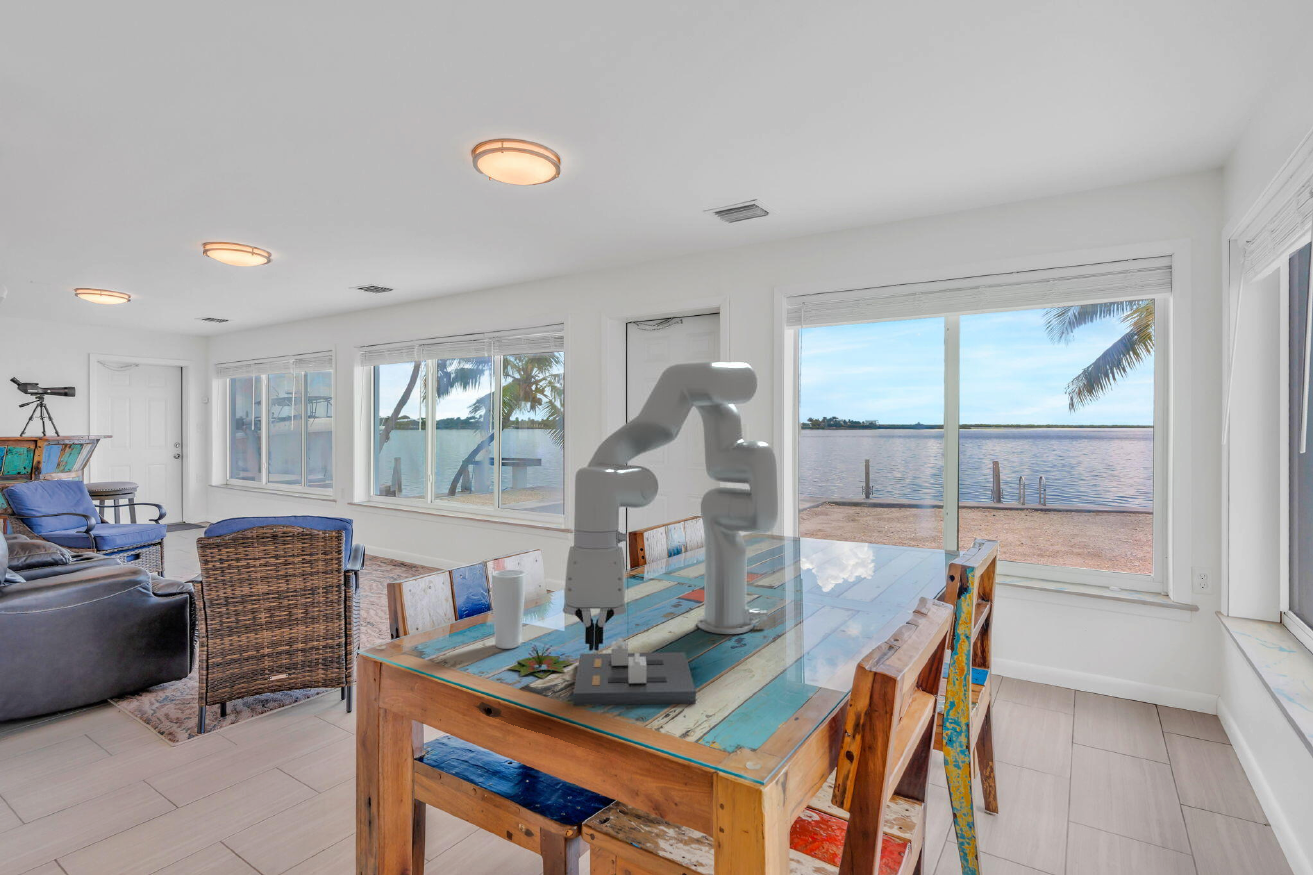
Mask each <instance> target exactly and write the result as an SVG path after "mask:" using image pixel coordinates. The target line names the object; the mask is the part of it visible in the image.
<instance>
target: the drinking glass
mask: <svg viewBox="0 0 1313 875" xmlns="http://www.w3.org/2000/svg"><path fill="white" fill-rule="evenodd" d="M525 597H526V573H525V571H523V570H519V569H503V570H497V571H494V572H493V573H492V574H491V604H492V614H493V626H494V628H493V629H494V645H495V647H497V648H498V649H501V650H509V649H516V648H518V647H519V646H521V644H522V635H523V633H522V632H523V631H522V630H523V621H524V620H523V619H524V612H525V610H524V609H525V608H524V607H525V599H526V598H525Z"/></svg>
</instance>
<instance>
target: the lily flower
mask: <svg viewBox="0 0 1313 875" xmlns="http://www.w3.org/2000/svg"><path fill="white" fill-rule="evenodd" d="M546 645H547V643H544V646H543V648H542V649H540V652H541V654H540V652H539V650H538V647H537V646H536V644H533V646H531V648H532V649H531V652H532V653H530V652H528V655H529V656H530V657H525V658H522V659H518V660H516V661H517V662H519V663H517V664H514V665H512V666H510V667H507V668H506V670H515V671H520V675H519V677H520V678H521V677H523V676H525V675H528V674H529V673H532V674H533V675H534V676H537V677H539V678H541V679H543V680H545V678H546V677H547V676H549V675H550V674H551V673H552V671H556V672H560V673H566V672H565V670H564V669H563V668H564V667H565V666H569V665H573V664H575V663H573V662H570V661H565V660H560V658H561V657H560V656H556V655H555V656H553V655H552V653H551V652H548V651H549V650H550V648H552V647H553V644H551V645H550V646H549V647H547V649H545V647H546ZM547 652H548V653H547ZM532 654H534V656H533V655H532ZM550 654H551V655H550ZM535 666H538V668H540V669H536V668H535ZM543 666H546V668H542V667H543ZM542 670H543V671H544V670H545V672H543V673H540V672H538V671H542Z"/></svg>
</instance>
